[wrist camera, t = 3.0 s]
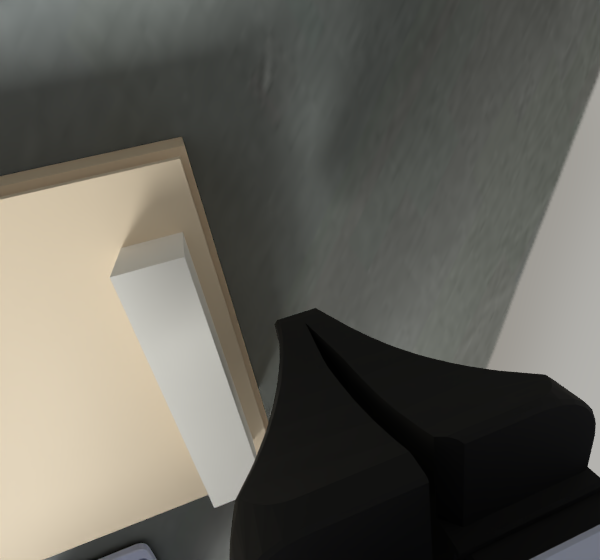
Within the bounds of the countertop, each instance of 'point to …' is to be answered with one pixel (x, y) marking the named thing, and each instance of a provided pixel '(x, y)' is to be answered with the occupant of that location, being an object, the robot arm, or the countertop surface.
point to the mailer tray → (121, 161)
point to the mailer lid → (114, 362)
